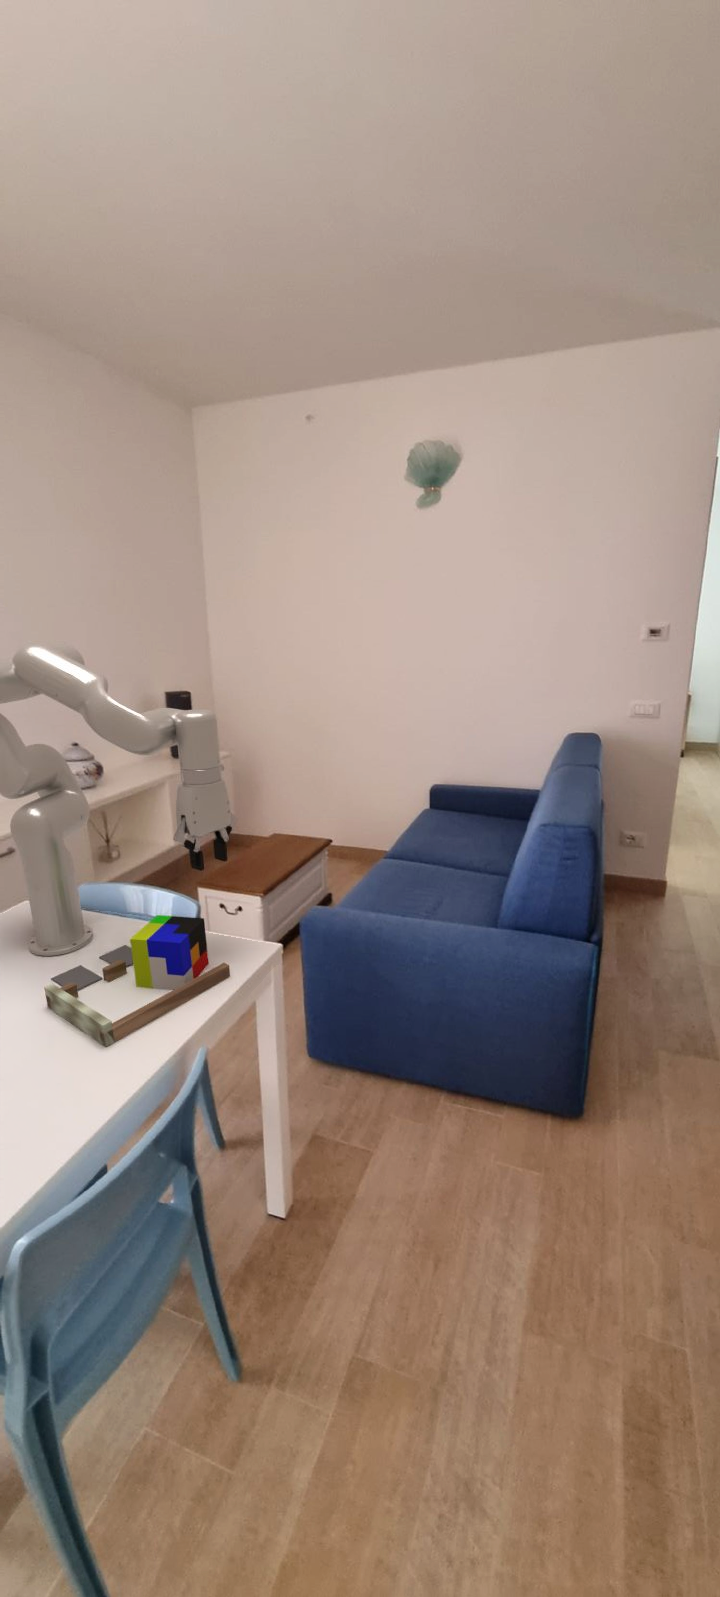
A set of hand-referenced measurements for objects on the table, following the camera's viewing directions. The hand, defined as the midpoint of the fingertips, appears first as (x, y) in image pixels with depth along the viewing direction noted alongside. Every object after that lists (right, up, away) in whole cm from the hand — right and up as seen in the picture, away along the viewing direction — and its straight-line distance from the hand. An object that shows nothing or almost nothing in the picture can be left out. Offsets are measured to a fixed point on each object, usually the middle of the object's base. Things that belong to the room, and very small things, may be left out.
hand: (209, 863), depth 128 cm
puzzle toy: (-6, -22, -3) cm, 23 cm away
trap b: (-19, -20, +4) cm, 27 cm away
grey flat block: (-25, -22, -4) cm, 33 cm away
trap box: (-11, -23, -8) cm, 26 cm away
